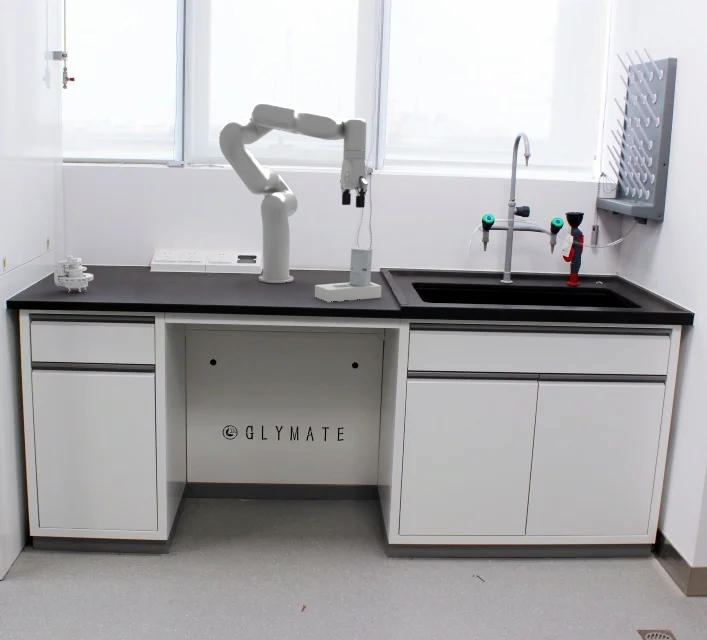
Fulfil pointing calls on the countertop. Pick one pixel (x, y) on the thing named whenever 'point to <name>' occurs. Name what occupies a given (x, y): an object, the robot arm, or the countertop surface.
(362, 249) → the skincare box
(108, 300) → the countertop surface
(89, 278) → the mechanical part
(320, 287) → the holder
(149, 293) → the countertop surface
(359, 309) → the countertop surface
